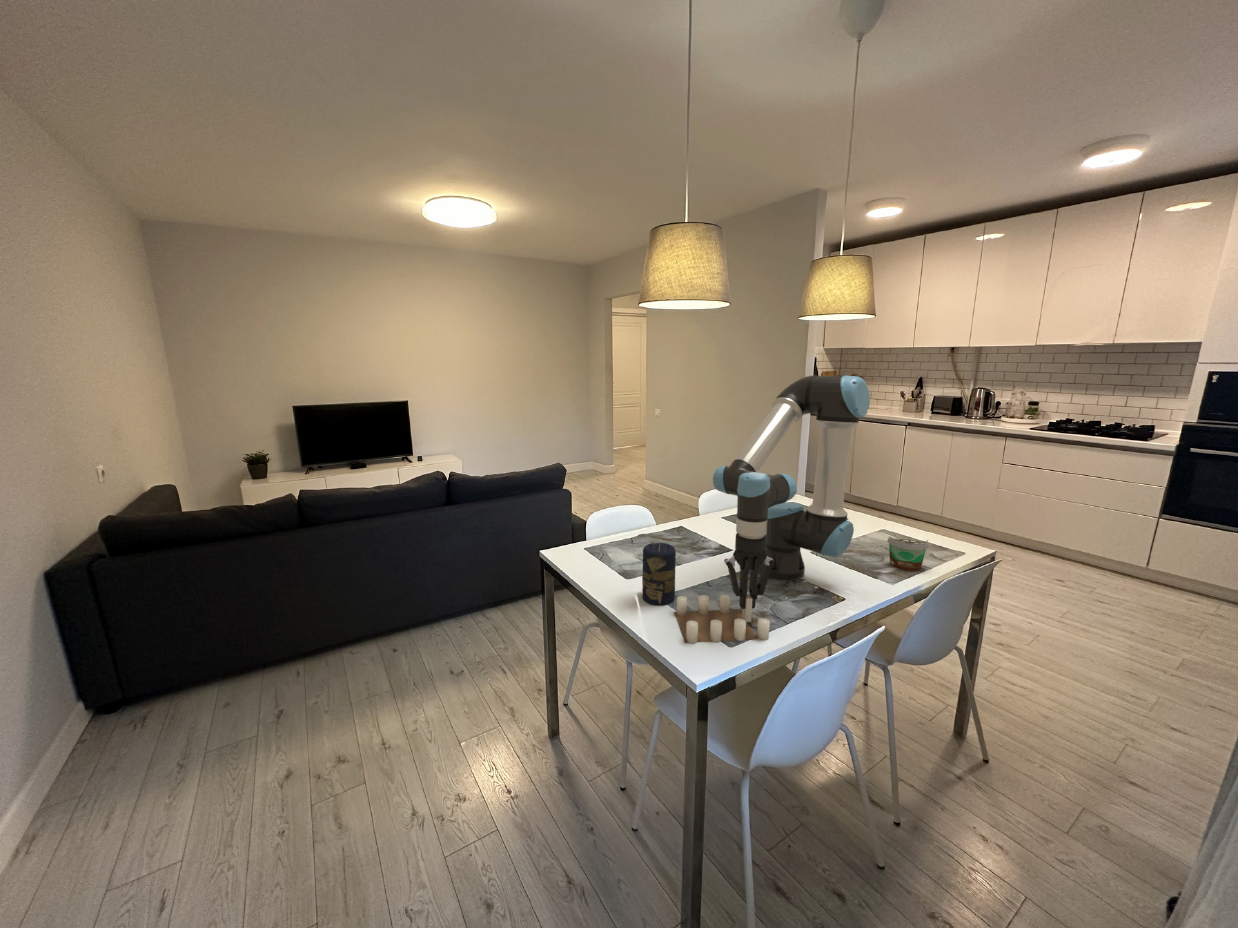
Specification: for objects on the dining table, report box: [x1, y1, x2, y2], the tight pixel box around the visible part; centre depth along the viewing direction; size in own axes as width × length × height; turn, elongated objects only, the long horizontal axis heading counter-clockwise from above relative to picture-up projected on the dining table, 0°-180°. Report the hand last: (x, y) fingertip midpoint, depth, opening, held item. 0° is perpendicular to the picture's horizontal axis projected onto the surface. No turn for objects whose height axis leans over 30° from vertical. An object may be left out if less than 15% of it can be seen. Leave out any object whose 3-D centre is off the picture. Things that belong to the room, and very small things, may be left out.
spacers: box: [676, 593, 771, 644], centre depth 125 cm, size 21×16×5 cm
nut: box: [749, 608, 772, 629], centre depth 126 cm, size 5×6×3 cm
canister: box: [641, 542, 677, 607], centre depth 138 cm, size 10×10×18 cm
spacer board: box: [673, 608, 759, 644], centre depth 126 cm, size 26×15×1 cm, turn 94°
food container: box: [887, 535, 930, 572], centre depth 160 cm, size 12×6×10 cm, turn 70°
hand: (746, 619), depth 125 cm, fingers closed
